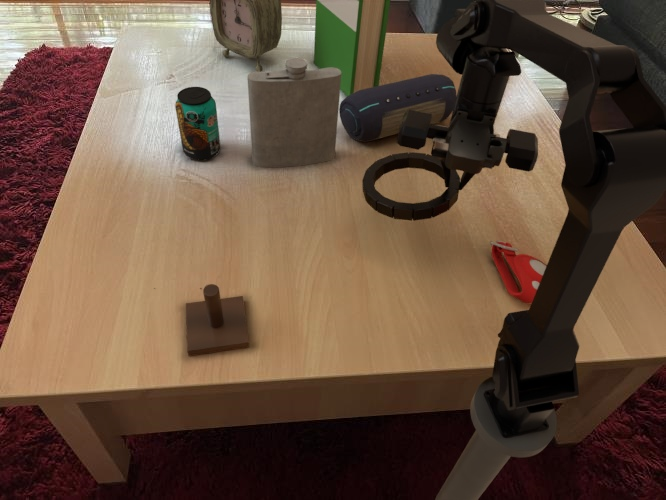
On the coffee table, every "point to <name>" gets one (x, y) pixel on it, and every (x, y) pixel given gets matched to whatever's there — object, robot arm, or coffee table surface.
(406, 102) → the portable speaker
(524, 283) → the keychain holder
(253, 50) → the tabletop clock
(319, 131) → the hip flask
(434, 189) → the coffee table surface
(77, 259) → the coffee table surface
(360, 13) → the hardback book
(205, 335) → the post
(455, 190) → the ring
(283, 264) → the coffee table surface
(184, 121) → the beverage can
